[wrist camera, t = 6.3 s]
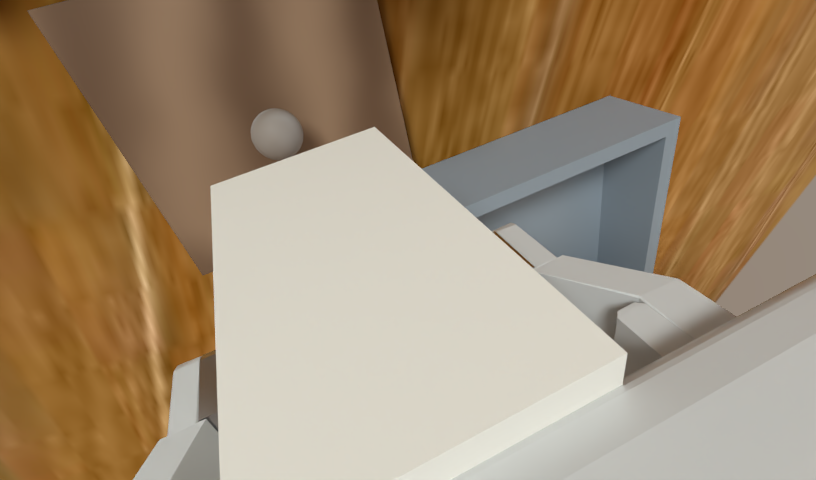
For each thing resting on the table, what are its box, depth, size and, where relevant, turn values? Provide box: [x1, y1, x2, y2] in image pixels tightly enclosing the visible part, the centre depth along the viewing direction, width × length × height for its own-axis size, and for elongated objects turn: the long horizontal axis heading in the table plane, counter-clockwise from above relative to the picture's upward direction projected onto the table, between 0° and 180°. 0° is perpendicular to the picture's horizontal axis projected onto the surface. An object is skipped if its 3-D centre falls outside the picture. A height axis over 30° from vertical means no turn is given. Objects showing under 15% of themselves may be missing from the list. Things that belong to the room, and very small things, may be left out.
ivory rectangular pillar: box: [210, 127, 628, 480], centre depth 9 cm, size 5×5×9 cm
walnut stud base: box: [28, 0, 413, 275], centre depth 21 cm, size 14×14×5 cm
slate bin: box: [422, 96, 681, 274], centre depth 32 cm, size 17×17×6 cm
